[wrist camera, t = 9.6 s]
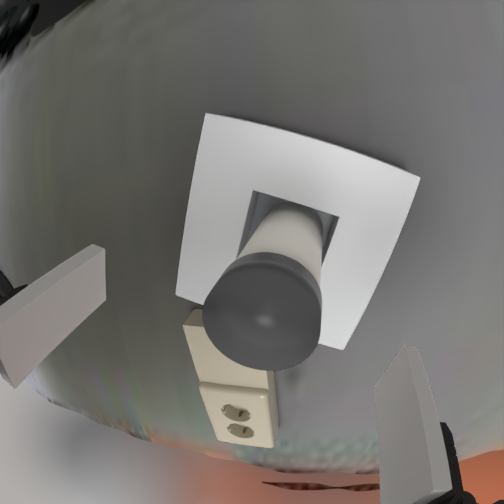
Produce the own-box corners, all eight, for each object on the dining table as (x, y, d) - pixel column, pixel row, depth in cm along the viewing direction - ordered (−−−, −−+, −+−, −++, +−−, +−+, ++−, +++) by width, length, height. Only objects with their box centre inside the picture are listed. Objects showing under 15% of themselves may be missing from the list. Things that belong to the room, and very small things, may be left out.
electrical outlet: (258, 337, 23) (274, 449, 30) (268, 309, 27) (279, 424, 33) (178, 331, 25) (216, 441, 32) (195, 306, 29) (226, 418, 35)
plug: (254, 248, 24) (195, 348, 13) (269, 190, 22) (212, 256, 11) (313, 267, 23) (297, 382, 12) (333, 210, 21) (339, 297, 10)
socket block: (192, 274, 27) (175, 294, 24) (223, 115, 21) (205, 113, 17) (342, 323, 25) (343, 350, 22) (405, 170, 19) (420, 177, 16)
